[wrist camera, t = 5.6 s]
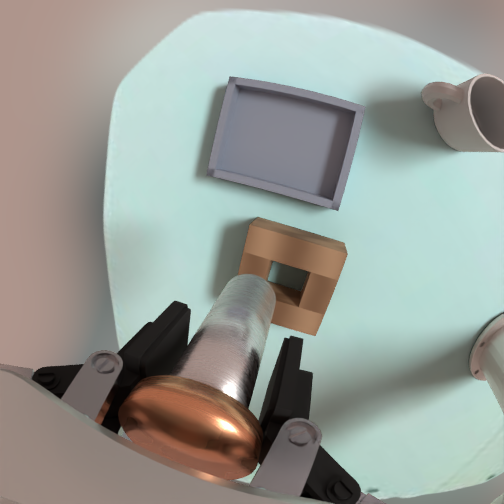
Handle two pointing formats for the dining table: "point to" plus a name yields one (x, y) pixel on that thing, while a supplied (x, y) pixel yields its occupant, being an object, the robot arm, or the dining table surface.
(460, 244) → the dining table surface
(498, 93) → the cup
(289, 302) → the hitch block
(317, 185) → the tray
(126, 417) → the pin
